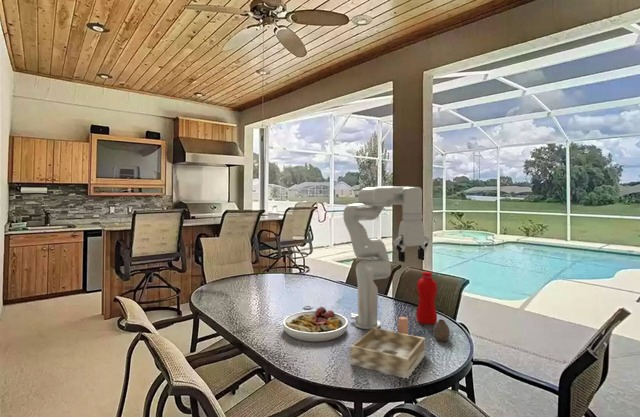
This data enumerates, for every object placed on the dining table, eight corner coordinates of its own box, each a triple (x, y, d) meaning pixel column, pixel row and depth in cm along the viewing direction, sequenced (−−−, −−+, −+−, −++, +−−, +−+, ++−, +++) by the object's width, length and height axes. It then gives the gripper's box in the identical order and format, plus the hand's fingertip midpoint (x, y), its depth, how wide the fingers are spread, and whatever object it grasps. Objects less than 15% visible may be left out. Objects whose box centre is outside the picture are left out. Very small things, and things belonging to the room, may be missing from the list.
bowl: (342, 347, 157) (342, 328, 157) (274, 341, 163) (274, 323, 163) (351, 322, 187) (351, 307, 186) (293, 318, 193) (293, 303, 192)
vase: (446, 336, 168) (446, 317, 167) (452, 343, 161) (452, 322, 160) (430, 336, 168) (431, 317, 167) (436, 343, 161) (436, 323, 160)
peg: (396, 341, 162) (397, 319, 162) (399, 338, 165) (400, 316, 165) (405, 343, 160) (406, 320, 160) (408, 340, 163) (409, 318, 163)
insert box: (350, 364, 141) (350, 346, 141) (373, 343, 160) (373, 327, 160) (407, 379, 130) (408, 359, 130) (425, 355, 149) (425, 337, 149)
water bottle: (433, 317, 192) (434, 269, 191) (437, 325, 182) (438, 274, 180) (415, 317, 193) (415, 269, 192) (418, 324, 182) (419, 273, 181)
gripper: (422, 216, 157) (422, 257, 158) (388, 218, 150) (388, 260, 150) (435, 217, 150) (434, 260, 151) (400, 219, 143) (399, 263, 144)
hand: (411, 260), depth 151 cm, fingers open, 9 cm apart
